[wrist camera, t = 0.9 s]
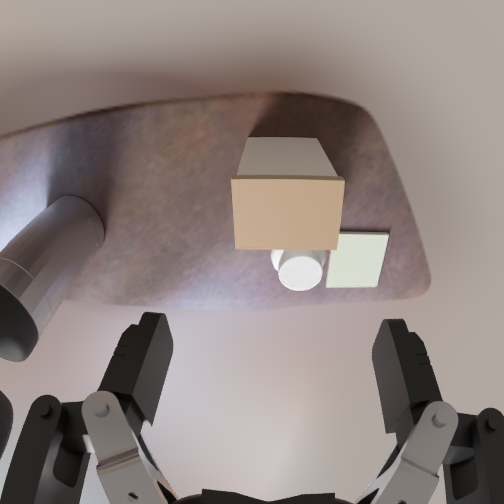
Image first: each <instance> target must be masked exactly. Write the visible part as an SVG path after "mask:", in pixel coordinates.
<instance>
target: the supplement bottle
mask: <svg viewBox="0 0 504 504" xmlns="http://www.w3.org/2000/svg"><path fill="white" fill-rule="evenodd" d="M271 259H272V263H273V265H274V267H275V268H276V270H277V271H278V273H279V279H280V281H281V282H282V284H283V285H284V286H286V287H287V288H289V289H292V290H297V291H302V290H307V289H310V288H312V287H314V286H315V285H316V284H318V283H319V281H320V280H321V278H322V274H323V269H322V267H323V265H324V263H325V260H326V250H271Z"/></svg>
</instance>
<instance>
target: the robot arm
mask: <svg viewBox="0 0 504 504" xmlns="http://www.w3.org/2000/svg"><path fill="white" fill-rule="evenodd" d="M103 241H104V228H103V224H102V221H101V219H100V217H99V215H98V213H97V212H96V211H95V210H94V208H93V207H92V206H91V205H90V204H88V203H87V202H86V201H84V200H83V199H81V198H78V197H76V196H63V197H60V198H58V199H57V200H56V201H55V202H53V203H52V204H51V205H50V206H49V207H48V208H45V209H44V210H43V211H42V212H41V213H40V214H39V215H38V216H36V217H35V218H34V219H33V220H32V221H31V222H30V223H29V224H28V225H27V226H26V227H25V228H23V229H22V230H21V231H20V232H19V233H18V234H17V235H16V236H15V237H14V238H13V239H12V240H11V241H10V242H9V243H8V244H7V246H6V247H5V248H4V249H3V250H2V251H1V252H0V357H1V358H3V359H6V360H10V361H13V362H21V361H24V360H25V359H27V357H29V355H30V354H31V352H32V351H33V349H34V347H35V345H36V344H37V341H38V340H39V338H40V336H41V335H42V333H43V331H44V330H45V328H46V327H47V325H48V323H49V322H50V320H51V318H52V317H53V315H54V314H55V312H56V311H57V309H58V308H59V306H60V304H61V303H62V301H63V300H64V298H65V297H66V295H67V294H68V292H69V291H70V290H71V288H72V287H73V285H74V284H75V282H76V281H77V279H78V278H79V277H80V275H81V274H82V272H83V271H84V269H85V268H86V267H87V265H88V264H89V263H90V261H91V260H92V259H93V257H94V256H95V254H96V253H97V252H98V250H99V249H100V248H101V246H102V244H103ZM117 345H118V346H117V347H116V349H115V351H114V353H113V354H114V355H113V356H112V358H111V360H110V363H109V365H108V368H107V370H106V372H105V374H104V377H103V379H102V382H101V384H100V387H99V389H98V390H97V392H94V393H92V394H90V395H89V396H88V397H87V398H86V399H85V400H84V401H80V402H66V403H60V401H59V400H58V399H57V398H56V397H54V396H51V395H43V396H40V397H38V398H37V399H36V400H35V401H34V402H33V403H32V405H31V407H30V410H29V412H28V415H27V418H26V420H25V423H24V425H23V428H22V431H21V434H20V436H19V439H18V442H17V445H16V448H15V451H14V454H13V457H12V461H11V463H10V467H9V470H8V474H7V477H6V480H5V484H4V487H3V491H2V495H1V499H0V504H79V502H80V497H81V493H82V488H83V484H84V479H85V475H86V471H87V467H88V463H89V459H90V455H91V452H95V454H96V456H97V459H98V465H97V467H96V469H97V473H98V476H99V479H100V481H101V483H102V486H103V488H104V491H105V493H106V495H107V498H108V499H109V502H110V504H353V503H350V502H348V501H345V500H341V499H337V498H335V493H324V494H304V495H303V494H302V495H298V496H294V497H290V498H286V499H281V500H276V501H270V502H267V501H263V500H259V499H255V498H252V497H248V496H245V495H242V494H238V493H235V492H226V491H217V490H207V489H202V494H196V495H191V496H187V497H184V498H181V499H178V497H177V495H176V494H175V492H174V490H173V489H172V487H171V486H170V484H169V483H168V481H167V480H166V479H165V477H164V475H163V474H162V472H161V470H160V469H159V467H158V465H157V463H156V461H155V459H154V457H153V455H152V453H151V451H150V449H149V447H148V446H147V443H146V442H145V439H144V437H143V435H142V434H141V429H142V425H146V426H150V427H152V424H153V421H154V417H155V413H156V410H157V406H158V402H159V399H160V395H161V391H162V388H163V385H164V381H165V378H166V374H167V370H168V367H169V364H170V360H171V357H172V353H173V339H172V336H171V332H170V329H169V325H168V321H167V318H166V315H165V314H164V313H153V312H145V313H144V314H143V315H142V317H141V320H140V322H139V325H135V324H131V325H130V326H129V327H128V328H127V329H126V330H125V331H124V332H123V333H122V336H121V338H120V340H119V342H118V344H117ZM372 360H373V366H374V370H375V375H376V380H377V385H378V390H379V395H380V401H381V406H382V412H383V418H384V424H385V430H386V434H387V433H394V432H396V438H397V442H396V443H395V445H394V447H393V449H392V450H391V452H390V454H389V455H388V457H387V459H386V460H385V462H384V463H383V465H382V467H381V468H380V470H379V471H378V473H377V474H376V476H375V477H374V479H373V480H372V482H371V483H370V484H369V485H368V486H367V487H366V488H365V490H364V491H363V492H362V494H361V495H360V496H359V497H358V499H357V500H356V501H355V503H354V504H428V502H429V500H430V498H431V496H432V494H433V492H434V490H435V488H436V486H437V484H438V481H439V476H437V472H438V470H439V467H440V466H441V464H443V471H444V479H445V489H446V501H447V504H504V416H503V414H502V413H501V412H500V411H498V410H497V409H494V408H486V409H484V410H483V411H482V412H481V413H480V414H479V415H478V416H477V415H470V414H463V413H457V412H456V410H455V409H454V408H453V407H452V406H451V405H450V404H448V403H446V402H444V401H443V400H442V397H441V394H440V391H439V387H438V384H437V381H436V378H435V375H434V372H433V369H432V366H431V365H430V360H429V357H428V356H427V351H426V348H425V345H424V343H423V341H422V340H421V339H420V337H419V336H418V335H417V334H416V333H415V332H409V331H408V329H407V326H406V323H405V321H404V320H403V319H384V320H383V321H382V323H381V326H380V329H379V332H378V334H377V337H376V339H375V343H374V345H373V349H372ZM12 423H13V409H12V405H11V403H10V401H9V399H8V398H7V397H6V396H5V395H4V394H3V393H2V392H1V391H0V459H1V457H2V455H3V452H4V450H5V447H6V445H7V442H8V439H9V436H10V433H11V429H12Z"/></svg>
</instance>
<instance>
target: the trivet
mask: <svg viewBox="0 0 504 504" xmlns="http://www.w3.org/2000/svg"><path fill="white" fill-rule="evenodd" d="M388 237H389V234H388V233H387V232H341V231H339V238H338V245H337V250H330V255H329V263H328V270H327V277H326V284H325V285H326V287H377V283H378V280H379V276H380V272H381V268H382V263H383V259H384V255H385V251H386V246H387V242H388Z"/></svg>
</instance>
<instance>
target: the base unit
mask: <svg viewBox="0 0 504 504" xmlns="http://www.w3.org/2000/svg"><path fill="white" fill-rule="evenodd" d="M231 185H232V201H233V217H234V233H235V248H236V249H261V250H337V245H338V238H339V230H340V222H341V213H342V205H343V195H344V185H345V180H344V178H343V177H340V176H337V174H336V172H335V170H334V168H333V166H332V164H331V163H330V161H329V159H328V157H327V155H326V154H325V152H324V150H323V148H322V147H321V145H320V143H319V141H318V140H317V138H298V137H248V139H247V142H246V145H245V148H244V152H243V155H242V158H241V162H240V165H239V168H238V171H237V175H232V178H231Z"/></svg>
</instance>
